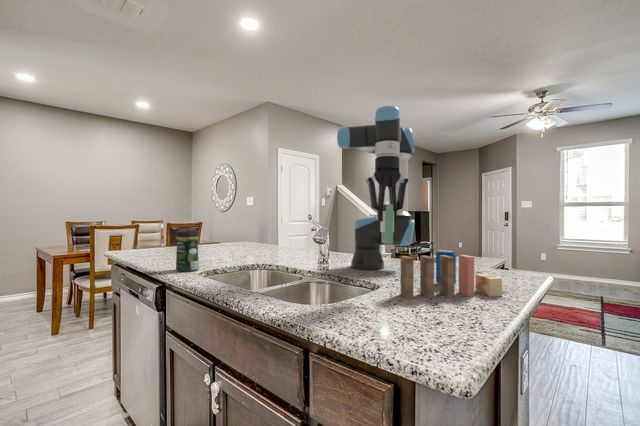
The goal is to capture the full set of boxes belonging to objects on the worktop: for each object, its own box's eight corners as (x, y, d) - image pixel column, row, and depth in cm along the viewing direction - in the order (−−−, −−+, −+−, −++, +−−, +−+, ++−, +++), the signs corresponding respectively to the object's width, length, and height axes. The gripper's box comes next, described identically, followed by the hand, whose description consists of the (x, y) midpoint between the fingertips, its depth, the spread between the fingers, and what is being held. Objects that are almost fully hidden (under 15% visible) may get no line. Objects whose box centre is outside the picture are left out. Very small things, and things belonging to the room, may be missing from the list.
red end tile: (458, 292, 100) (458, 254, 100) (464, 292, 100) (464, 254, 100) (468, 296, 95) (468, 257, 95) (474, 296, 96) (474, 257, 95)
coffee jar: (172, 270, 137) (172, 228, 137) (189, 267, 144) (189, 227, 144) (184, 273, 132) (184, 229, 132) (201, 270, 138) (201, 228, 138)
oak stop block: (475, 290, 102) (475, 274, 102) (486, 290, 103) (486, 273, 103) (489, 296, 95) (489, 278, 95) (501, 296, 96) (501, 278, 96)
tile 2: (400, 294, 98) (400, 256, 98) (406, 294, 98) (406, 256, 98) (407, 298, 93) (407, 258, 93) (413, 298, 93) (413, 258, 93)
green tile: (381, 242, 100) (381, 205, 100) (387, 242, 100) (387, 205, 100) (386, 243, 95) (386, 204, 95) (393, 243, 95) (393, 204, 96)
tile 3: (420, 293, 99) (420, 255, 99) (426, 293, 99) (426, 255, 99) (427, 298, 94) (427, 258, 94) (434, 297, 94) (434, 257, 94)
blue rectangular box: (452, 282, 114) (452, 249, 114) (458, 286, 107) (458, 252, 107) (434, 282, 114) (434, 249, 114) (439, 286, 108) (439, 251, 108)
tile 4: (439, 292, 99) (439, 255, 99) (445, 292, 100) (445, 255, 100) (448, 297, 94) (448, 257, 94) (454, 297, 95) (454, 257, 95)
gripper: (367, 153, 93) (367, 232, 93) (415, 155, 95) (415, 232, 95) (360, 158, 101) (360, 231, 100) (405, 160, 103) (405, 231, 102)
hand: (387, 231), depth 98 cm, fingers closed on green tile, 2 cm apart
